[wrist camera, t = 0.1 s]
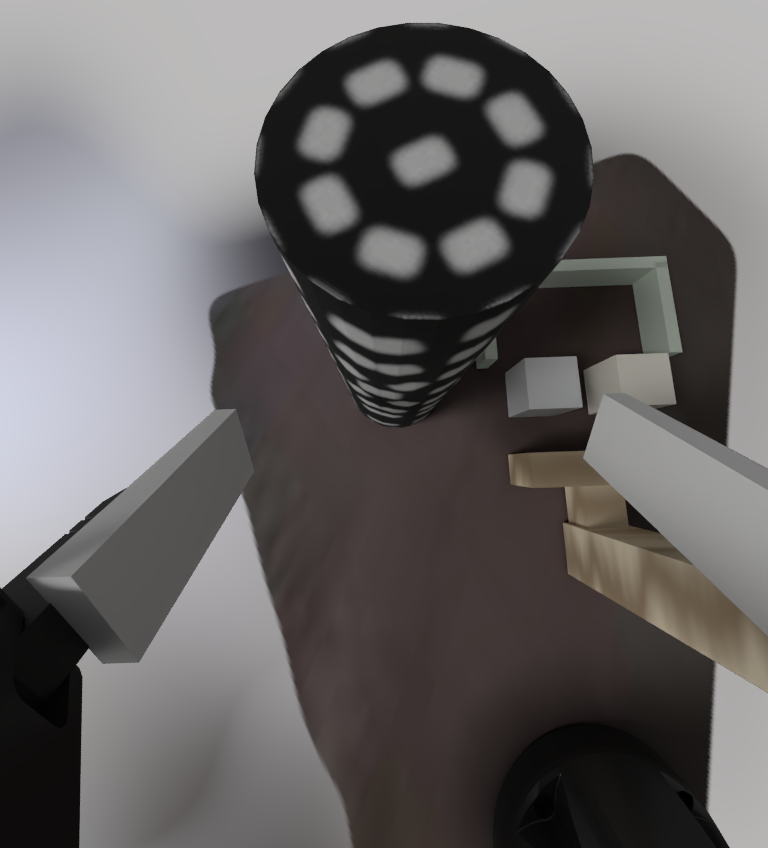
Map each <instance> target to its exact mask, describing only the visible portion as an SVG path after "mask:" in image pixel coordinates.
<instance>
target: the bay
mask: <svg viewBox="0 0 768 848" xmlns="http://www.w3.org/2000/svg"><path fill="white" fill-rule="evenodd" d="M609 285H633V292H634V298H635V305H636V311H637V318H638V324H639V331H640V337H641V343H642V350H643V354H651V353H668V356H669V357H671V356H673V355H676V354H678V353H681V352H682V346H681V341H680V335H679V329H678V323H677V317H676V312H675V306H674V300H673V294H672V289H671V283H670V277H669V271H668V265H667V260H666V256H655V257H628V258H602V259H575V260H561V261H560V262H559V264H558V265H557V266H556V267H555V268H554V269H553V271H552V272H551V273H550V274H549V275H548V277H547V278H546V279H545V280H544V281H543V282H542V284H541V285H540V286H539V287H538V288H556V287H583V286H609ZM497 359H498V354H497V343H496V337H495V339H494V340H493V341H492V342H491V343H490V345H489V346H488V347H487V348H486V349H485V350H484V352H483V353H482V354H481V355H480V356H479V357H478V359H477V360H476V367H477V369H483V368H489V367H490V366H491V365H492V364H493V363H494V362H495V361H496V360H497Z"/></svg>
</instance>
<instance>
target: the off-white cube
mask: <svg viewBox="0 0 768 848" xmlns="http://www.w3.org/2000/svg"><path fill="white" fill-rule="evenodd" d="M583 373H584V381H585V389H586V396H587V404H588V412H589V415H590V414H597V412H598V409H599V406H600V403H601V400H602V397H603V394H612V393H626V394H628V395H630V396H632V397H634V398H636V399H637V400H639V401H641V402H643V403H645V404H647V405H649V406H651V407H652V408H654V409H655V408H660V407H665V406H670V405H675V404H676V398H675V392H674V386H673V380H672V374H671V368H670V362H669V356H668V353H651V354H623V355H614V356H612V357H610V358H608V359H606V360H604V361H602V362H600V363H598V364H596V365H593V366H591V367H589V368H587V369H585V370H583Z"/></svg>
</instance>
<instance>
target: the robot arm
mask: <svg viewBox="0 0 768 848" xmlns="http://www.w3.org/2000/svg"><path fill="white" fill-rule="evenodd" d="M583 459H584V460H585V461H586V462H587V463H588V464H589V465H590V466H591V467H593V468H594V469H595V470H596V471H597V472H598V473H599V474H600V475H601V476H602V477H603V478H604V479H605V480H606V481H607V482H608V483H609V484H610V485H611V486H612V487H613V488H614V489H615V490H616V491H617V492H618V493H620V494H621V495H622V496H623V497H624V498H625V499H626V500H627V501H628V502H629V503H630V504H631V505H632V506H633V507H634V508H635V509H636V510H637V511H638V512H639V513H640V514H641V515H642V516H643V517H644V518H645V519H646V520H648V521H649V522H650V523H651V524H652V525H653V526H654V527H655V528H656V529H657V530H658V531H659V532H660V533H661V534H662V535H663V536H664V537H665V538H666V539H667V540H668V541H669V542H670V543H671V544H672V545H673V546H675V547H676V548H677V549H678V550H679V551H680V552H681V553H682V554H683V555H684V556H685V557H686V558H687V559H688V560H689V561H690V562H691V563H692V564H693V565H694V566H695V567H696V568H697V569H698V570H699V571H700V572H702V573H703V574H704V575H705V576H706V577H707V578H708V579H709V580H710V581H711V582H712V583H713V584H714V585H715V586H716V587H717V588H718V589H719V590H720V591H721V592H722V593H723V594H724V595H725V596H726V597H727V598H729V599H730V600H731V601H732V602H733V603H734V604H735V605H736V606H737V607H738V608H739V609H740V610H741V611H742V612H743V613H744V614H745V615H746V616H747V617H748V618H749V619H750V620H751V621H752V622H753V623H754V624H756V625H757V626H758V627H759V628H760V629H761V630H762V631H763V632H764V633H765V634H766V635H767V636H768V469H767V468H766V467H764V466H762V465H760V464H758V463H756V462H754V461H752V460H750V459H748V458H747V457H745V456H743V455H741V454H739V453H737V452H735V451H734V450H732V449H730V448H728V447H726V446H724V445H722V444H720V443H718V442H717V441H715V440H713V439H711V438H709V437H707V436H705V435H703V434H701V433H700V432H698V431H696V430H694V429H692V428H690V427H688V426H686V425H685V424H683V423H681V422H679V421H677V420H675V419H673V418H671V417H669V416H668V415H666V414H664V413H662V412H660V411H658V410H656V409H654V408H652V407H651V406H649V405H647V404H645V403H643V402H641V401H639V400H637V399H636V398H634V397H632V396H630V395H628V394H626V393H612V394H603V397H602V400H601V403H600V406H599V409H598V412H597V416H596V419H595V422H594V425H593V428H592V432H591V435H590V438H589V441H588V444H587V447H586V451H585V454H584V457H583ZM253 473H254V469H253V465H252V462H251V458H250V455H249V452H248V448H247V445H246V441H245V438H244V435H243V431H242V428H241V424H240V421H239V417H238V414H237V411H236V409H226V410H214V411H213V412H212V413H211V414H210V415H209V416H208V417H206V418H205V419H204V420H203V421H202V422H201V423H200V424H199V425H198V426H196V427H195V428H194V429H193V430H192V431H191V432H190V433H188V434H187V435H186V436H185V437H184V438H183V439H182V440H181V441H179V442H178V443H177V444H176V445H175V446H174V447H173V448H172V449H170V450H169V451H168V452H167V453H166V454H165V455H164V456H163V457H161V458H160V459H159V460H158V461H157V462H156V463H155V464H154V465H152V467H150V468H149V469H148V470H147V471H146V472H145V473H143V474H142V475H141V476H140V477H139V478H138V479H137V480H136V481H134V482H133V483H132V484H131V485H130V486H129V487H128V488H126V489H124V490H122V491H120V492H119V493H117V494H115V495H114V496H112V497H110V498H109V499H107V500H105V501H103V502H102V503H101V504H100V505H99V506H98V507H96V508H95V509H94V510H93V511H92V512H91V513H89V514H88V515H87V516H86V517H85V520H82V521H80V522H79V523H78V524H77V525H76V526H74V527H73V528H72V529H71V530H70V533H69V534H65V535H64V536H63V537H62V538H60V539H59V540H58V541H57V542H56V543H55V544H53V545H52V546H51V547H50V548H49V549H48V550H47V551H46V552H44V553H43V554H42V555H41V556H39V557H38V558H37V559H36V560H35V561H34V562H33V563H31V564H30V565H29V566H28V567H27V568H26V569H24V570H23V571H22V572H21V573H20V574H19V575H17V576H16V577H15V578H14V579H13V580H12V581H10V582H9V583H8V584H7V585H6V586H5V587H3V588H2V589H1V588H0V848H79V824H80V823H79V822H80V774H81V721H82V720H81V719H82V717H81V716H82V675H81V671H80V669H79V667H78V666H77V665H76V664H77V663H78V662H79V660H80V659H81V658H82V656H83V655H84V654H85V652H86V651H87V650H88V648H89V649H90V650H91V651H92V652H93V653H94V655H95V656H96V657H97V658H98V659H99V660H100V661H101V662H102V663H103V664H106V663H132V662H133V663H135V662H139V661H140V660H141V658H142V656H143V655H144V653H145V651H146V650H147V648H148V646H149V645H150V643H151V641H152V640H153V638H154V637H155V635H156V633H157V632H158V630H159V628H160V627H161V625H162V623H163V622H164V620H165V618H166V617H167V615H168V613H169V612H170V610H171V608H172V607H173V605H174V603H175V602H176V600H177V598H178V597H179V595H180V594H181V592H182V590H183V588H184V587H185V585H186V584H187V582H188V580H189V578H190V577H191V575H192V574H193V572H194V570H195V569H196V567H197V565H198V564H199V562H200V560H201V559H202V557H203V555H204V554H205V552H206V550H207V549H208V547H209V545H210V544H211V542H212V541H213V539H214V537H215V535H216V534H217V532H218V531H219V529H220V527H221V525H222V524H223V522H224V521H225V519H226V517H227V516H228V514H229V512H230V511H231V509H232V507H233V506H234V504H235V502H236V501H237V499H238V497H239V496H240V494H241V493H242V491H243V489H244V488H245V486H246V484H247V483H248V481H249V479H250V478H251V476H252V474H253ZM493 842H494V848H729V846H728V844H727V843H726V841H725V840H724V838H723V836H722V834H721V833H720V831H719V829H718V828H717V826H716V824H715V823H714V821H713V820H712V818H711V816H710V815H709V813H708V812H707V810H706V809H705V807H704V806H703V804H702V803H701V802H700V800H699V799H698V798H697V797H696V795H695V794H694V793H693V792H692V790H691V789H690V788H689V787H688V786H687V785H686V784H685V783H684V782H683V780H682V779H681V778H680V777H679V776H678V775H677V774H676V773H675V772H674V771H673V770H672V769H671V768H670V767H669V766H668V764H667V763H666V762H665V761H664V760H663V759H662V758H661V757H660V756H659V755H658V754H657V753H656V752H654V751H653V750H652V749H651V748H650V747H648V746H647V745H646V744H644V743H643V742H641V741H640V740H638V739H636V738H635V737H633V736H631V735H629V734H627V733H624V732H622V731H619V730H616V729H613V728H609V727H605V726H599V725H576V726H570V727H566V728H562V729H559V730H556V731H554V732H551V733H549V734H547V735H545V736H544V737H542V738H540V739H539V740H537V741H536V742H535V743H533V744H532V745H531V746H530V747H529V748H528V749H526V750H525V751H524V752H523V754H522V755H521V756H520V757H519V758H518V759H517V761H516V762H515V763H514V765H513V766H512V768H511V769H510V771H509V773H508V775H507V777H506V779H505V781H504V783H503V785H502V788H501V791H500V793H499V797H498V800H497V805H496V809H495V815H494V825H493Z"/></svg>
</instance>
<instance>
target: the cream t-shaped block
mask: <svg viewBox="0 0 768 848" xmlns="http://www.w3.org/2000/svg"><path fill="white" fill-rule="evenodd" d="M584 454H585V451H565V452H537V453H521V454H510V455H508V459H509V471H510V482H511V485H517V486H524V487H530V488H547V487H565V493H566V502H567V511H568V520H569V523H563V530H564V539H565V548H566V557H567V566H568V574H569V575H571V576H573V577H574V578H576V579H578V580H579V581H581V582H583V583H584V584H586V585H588V586H589V587H591V588H593V589H595V590H596V591H598V592H600V593H601V594H603V595H605V596H606V597H608V598H610V599H611V600H613V601H615V602H616V603H618V604H620V605H621V606H623V607H625V608H626V609H628V610H630V611H631V612H633V613H635V614H636V615H638V616H640V617H641V618H643V619H645V620H646V621H648V622H650V623H651V624H653V625H655V626H657V627H658V628H660V629H662V630H663V631H665V632H667V633H668V634H670V635H672V636H673V637H675V638H677V639H678V640H680V641H682V642H683V643H685V644H687V645H688V646H690V647H692V648H693V649H695V650H697V651H698V652H700V653H702V654H703V655H705V656H707V657H708V658H710V659H712V660H713V661H715V662H717V663H719V664H720V665H722V666H724V667H725V668H727V669H729V670H730V671H732V672H734V673H735V674H737V675H739V676H740V677H742V678H744V679H745V680H747V681H749V682H750V683H752V684H754V685H755V686H757V687H759V688H760V689H762V690H764V691H766V692H767V693H768V636H767V635H766V634H765V633H764V632H763V631H762V630H761V629H760V628H759V627H758V626H757V625H756V624H754V623H753V622H752V621H751V620H750V619H749V618H748V617H747V616H746V615H745V614H744V613H743V612H742V611H741V610H740V609H739V608H738V607H737V606H736V605H735V604H734V603H733V602H732V601H731V600H730V599H729V598H727V597H726V596H725V595H724V594H723V593H722V592H721V591H720V590H719V589H718V588H717V587H716V586H715V585H714V584H713V583H712V582H711V581H710V580H709V579H708V578H707V577H706V576H705V575H704V574H703V573H702V572H700V571H699V570H698V569H697V568H696V567H695V566H694V565H693V564H692V563H691V562H690V561H689V560H688V559H687V558H686V557H685V556H684V555H683V554H682V553H681V552H680V551H679V550H678V549H677V548H676V547H675V546H673V545H672V544H671V543H670V542H669V541H668V540H667V539H666V538H665V537H664V536H663V535H662V534H661V533H657V532H653V531H649V530H645V529H641V528H637V527H633V526H629V524H628V517H627V510H626V502H625V498H624V497H623V496H622V495H621V494H620V493H618V492H617V491H616V490H615V489H614V488H613V487H612V486H611V485H610V484H609V483H608V482H607V481H606V480H605V479H604V478H603V477H602V476H601V475H600V474H599V473H598V472H597V471H596V470H595V469H594V468H593V467H591V466H590V465H589V464H588V463H587V462H586V461H585V460H584V459H583V457H584Z"/></svg>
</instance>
